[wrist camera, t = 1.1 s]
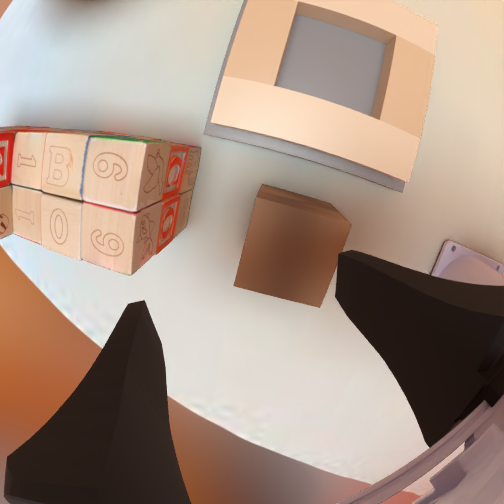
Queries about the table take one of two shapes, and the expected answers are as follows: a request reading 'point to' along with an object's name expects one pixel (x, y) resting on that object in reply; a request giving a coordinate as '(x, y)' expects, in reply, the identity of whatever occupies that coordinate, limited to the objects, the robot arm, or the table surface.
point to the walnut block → (291, 246)
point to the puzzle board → (329, 84)
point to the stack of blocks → (95, 193)
